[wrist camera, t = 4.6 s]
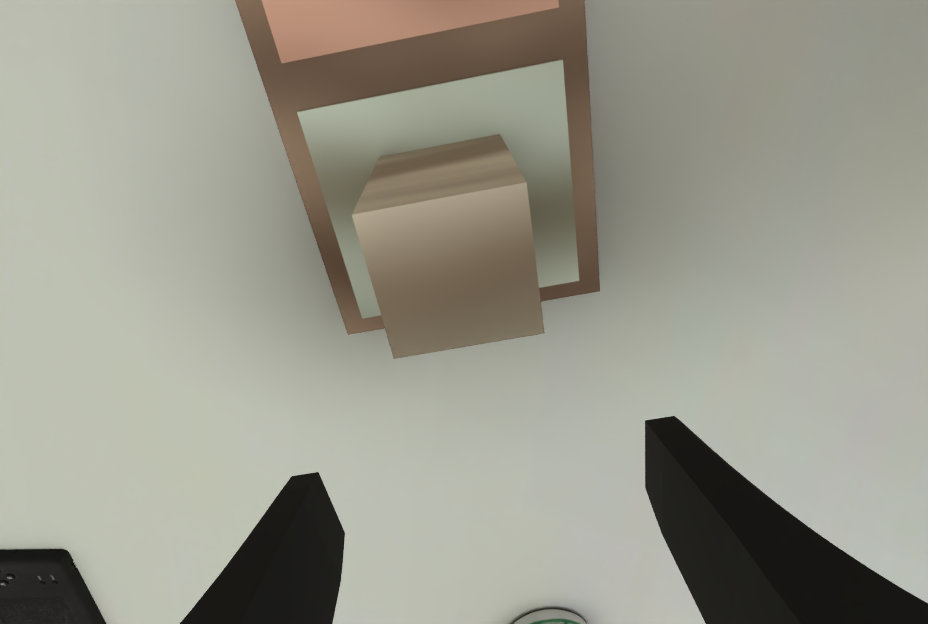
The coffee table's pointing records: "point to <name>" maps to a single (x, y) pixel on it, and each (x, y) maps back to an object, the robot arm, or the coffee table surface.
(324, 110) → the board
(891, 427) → the coffee table surface
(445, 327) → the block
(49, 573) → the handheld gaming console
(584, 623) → the supplement bottle
